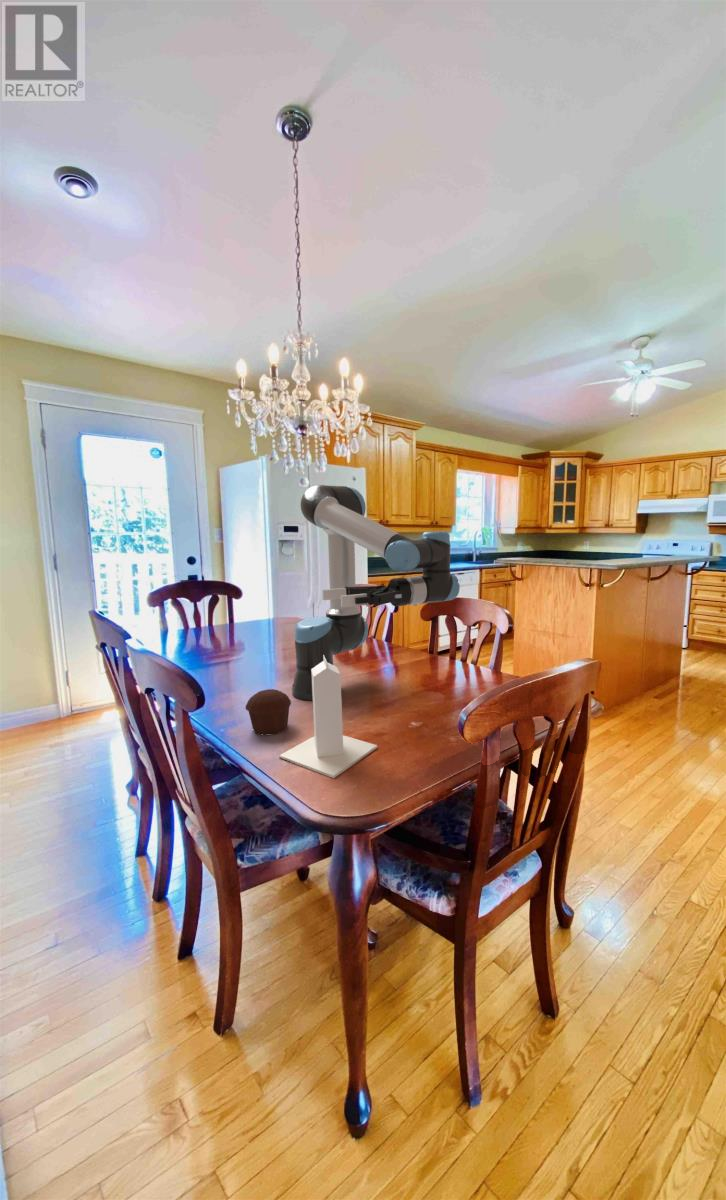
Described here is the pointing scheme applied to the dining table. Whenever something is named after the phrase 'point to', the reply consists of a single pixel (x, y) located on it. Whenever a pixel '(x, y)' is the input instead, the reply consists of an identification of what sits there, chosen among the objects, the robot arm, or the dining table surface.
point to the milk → (327, 709)
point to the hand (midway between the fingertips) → (331, 598)
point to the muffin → (269, 711)
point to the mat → (330, 764)
